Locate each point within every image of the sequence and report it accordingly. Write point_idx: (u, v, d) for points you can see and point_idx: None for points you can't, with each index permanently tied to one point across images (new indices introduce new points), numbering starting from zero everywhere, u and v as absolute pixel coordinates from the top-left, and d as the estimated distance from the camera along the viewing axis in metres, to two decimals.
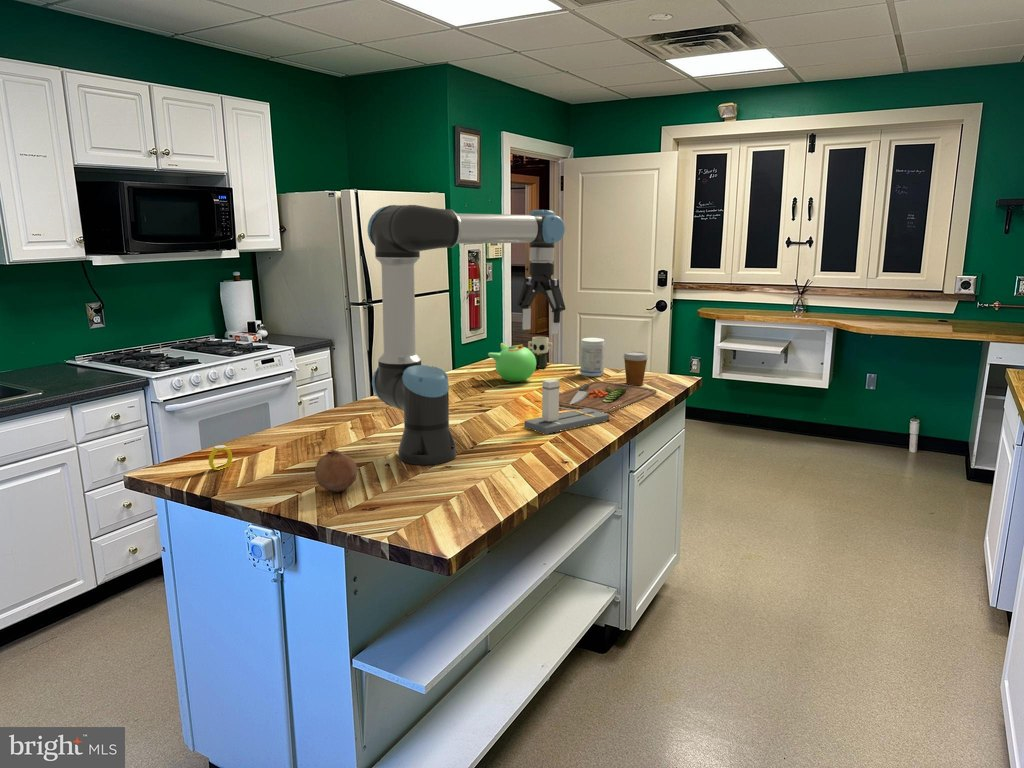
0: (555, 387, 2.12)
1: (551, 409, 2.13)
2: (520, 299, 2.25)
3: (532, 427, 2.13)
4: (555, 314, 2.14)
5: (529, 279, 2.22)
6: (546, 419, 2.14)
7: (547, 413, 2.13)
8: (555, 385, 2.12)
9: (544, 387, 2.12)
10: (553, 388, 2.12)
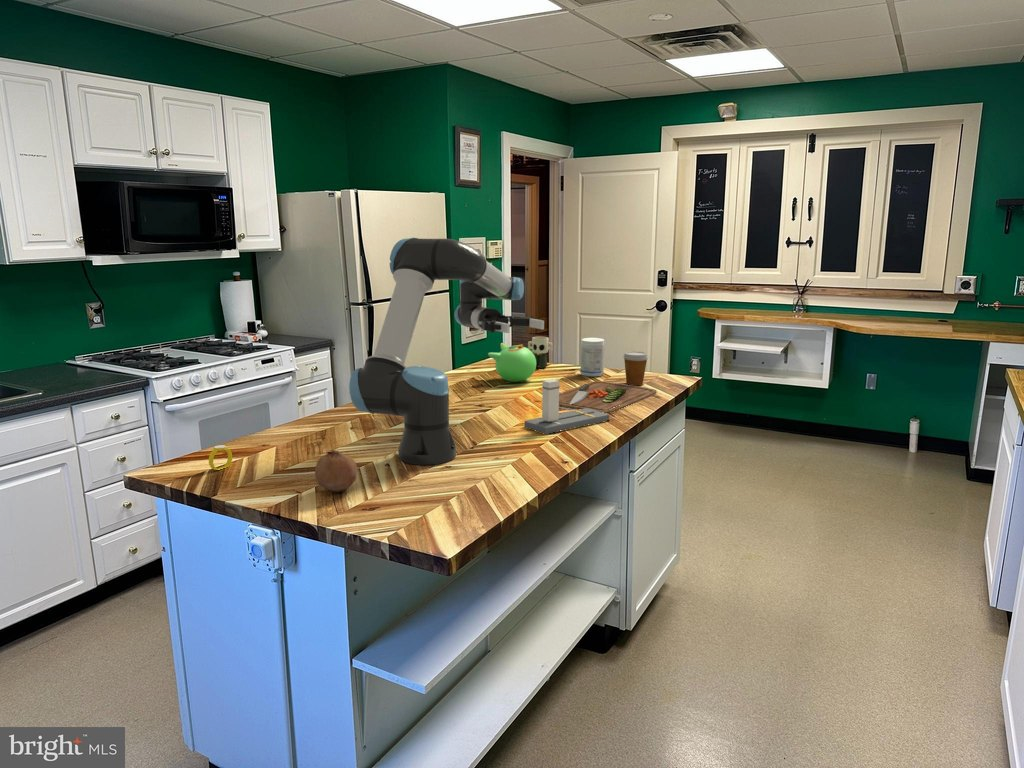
0: (555, 387, 2.12)
1: (551, 409, 2.13)
2: (486, 321, 2.23)
3: (532, 427, 2.13)
4: None
5: None
6: (546, 419, 2.14)
7: (547, 413, 2.13)
8: (555, 385, 2.12)
9: (544, 387, 2.12)
10: (553, 388, 2.12)
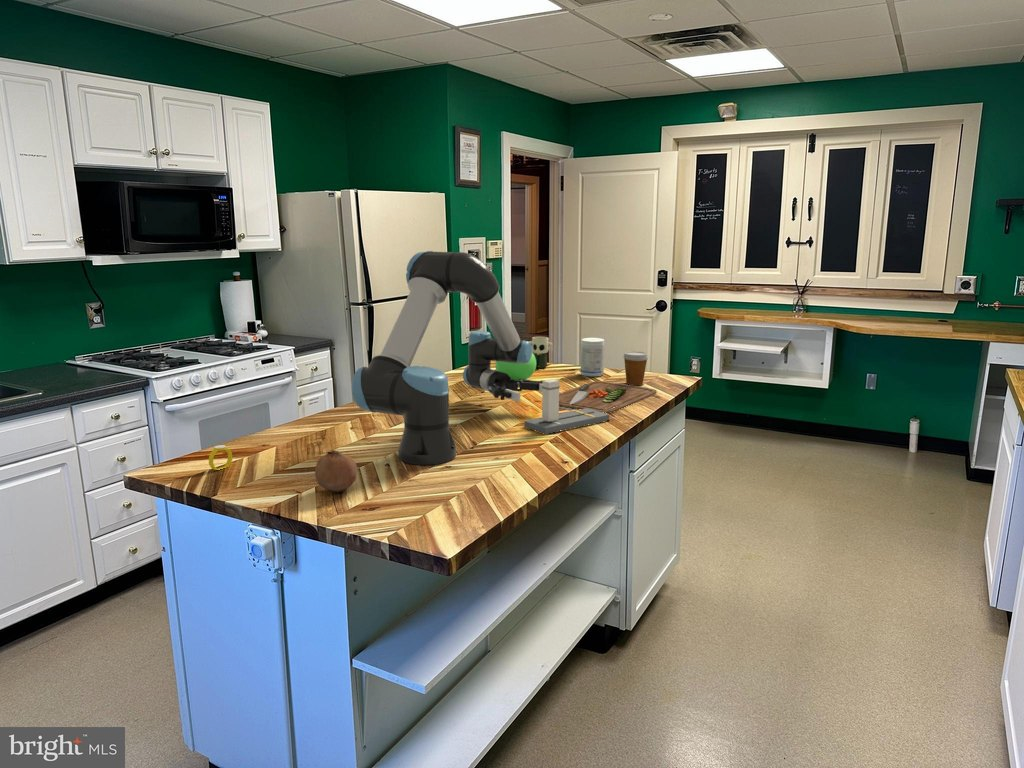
0: (555, 387, 2.12)
1: (551, 409, 2.13)
2: (496, 388, 2.22)
3: (532, 427, 2.13)
4: None
5: None
6: (546, 419, 2.14)
7: (547, 413, 2.13)
8: (555, 385, 2.12)
9: (544, 387, 2.12)
10: (553, 388, 2.12)
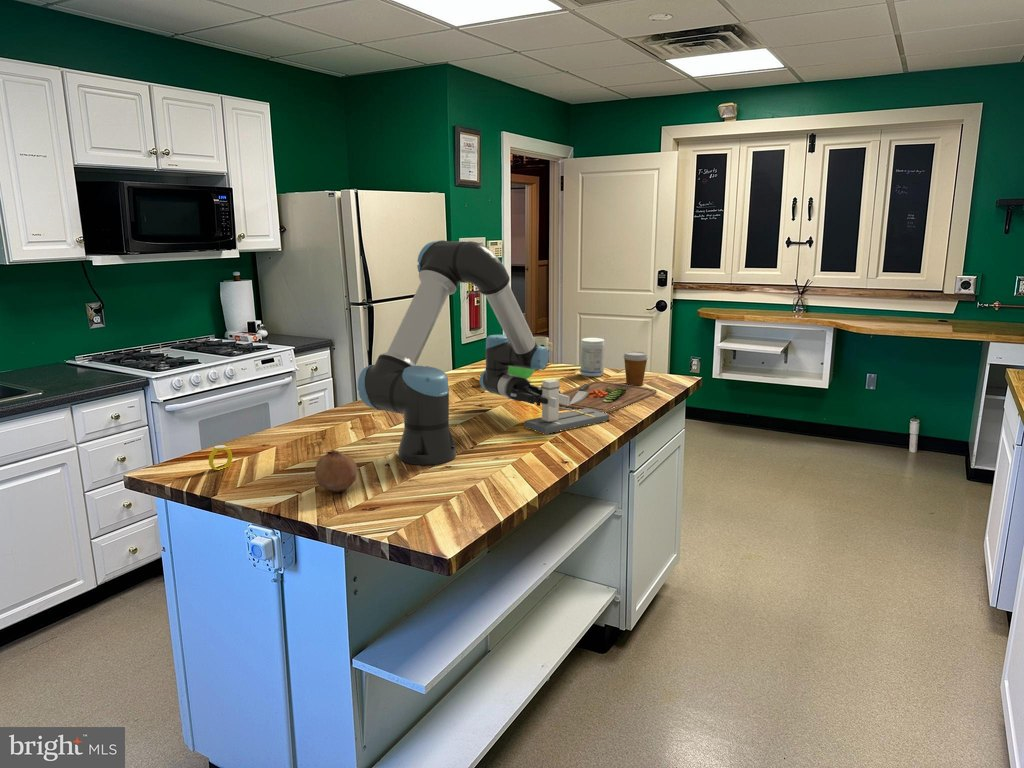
0: (555, 387, 2.12)
1: (551, 409, 2.13)
2: (528, 394, 2.14)
3: (532, 427, 2.13)
4: None
5: None
6: (546, 419, 2.14)
7: (547, 413, 2.13)
8: (555, 385, 2.12)
9: (544, 387, 2.12)
10: (553, 388, 2.12)
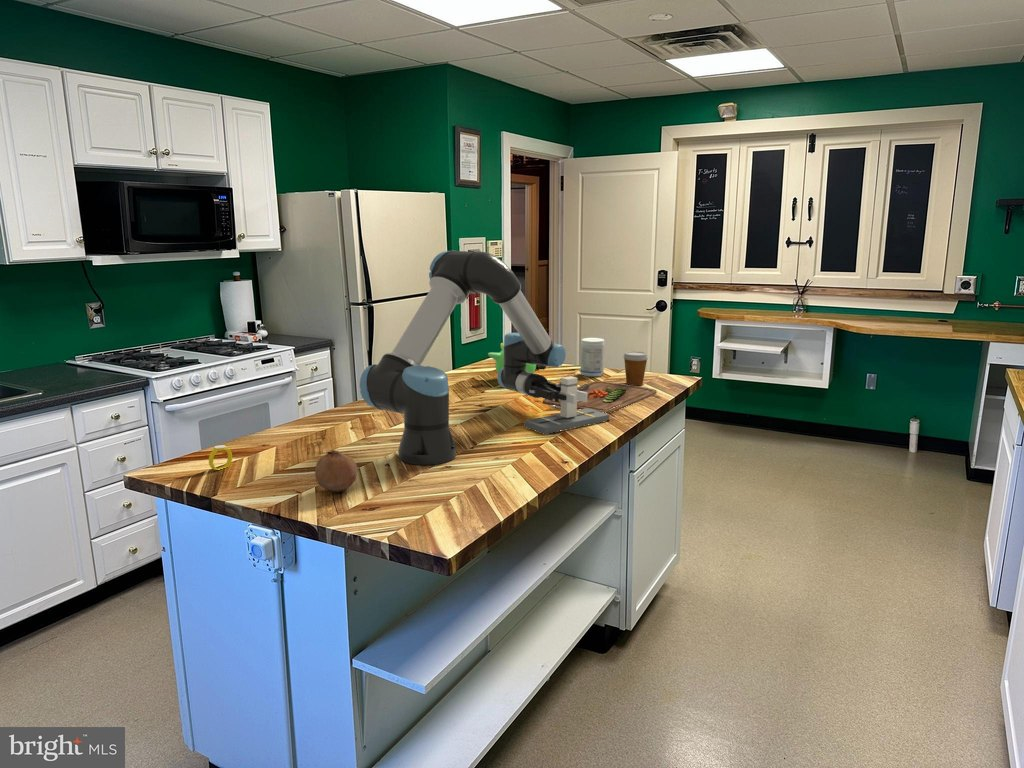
0: (573, 384, 2.17)
1: (569, 406, 2.17)
2: (547, 390, 2.18)
3: (532, 427, 2.13)
4: None
5: None
6: (564, 415, 2.18)
7: (566, 409, 2.17)
8: (573, 382, 2.16)
9: (563, 384, 2.17)
10: (571, 385, 2.16)
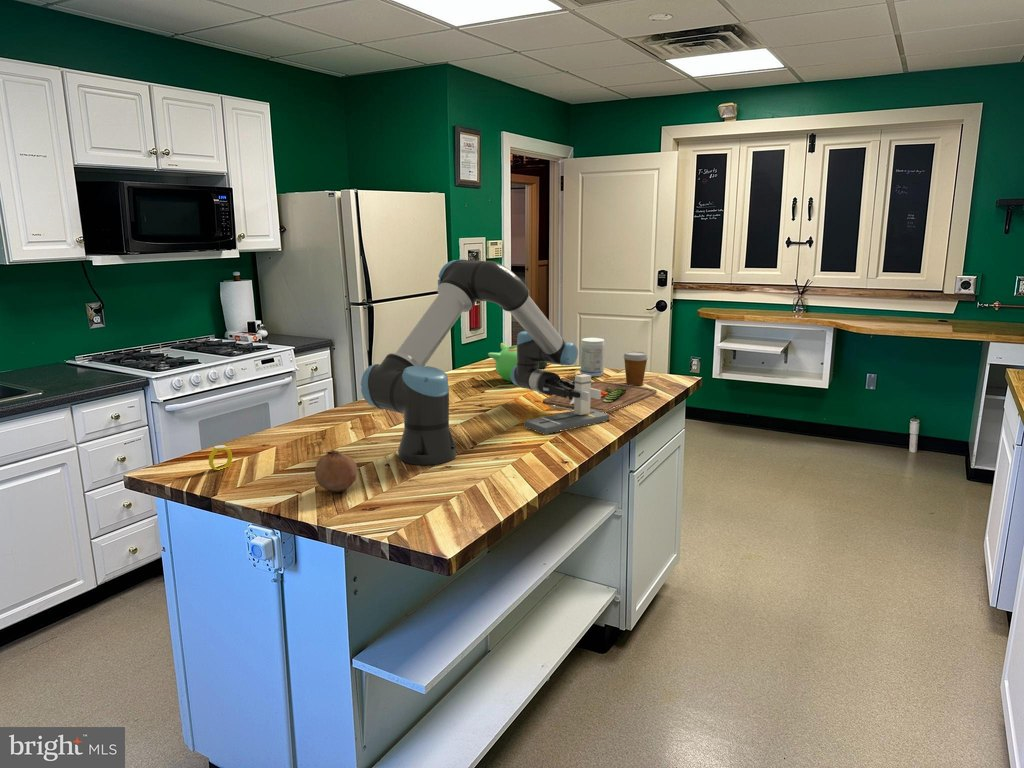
0: (587, 382, 2.20)
1: (583, 403, 2.21)
2: (561, 388, 2.22)
3: (532, 427, 2.13)
4: None
5: None
6: (578, 413, 2.21)
7: (579, 406, 2.20)
8: (587, 380, 2.20)
9: (576, 382, 2.20)
10: (585, 383, 2.19)
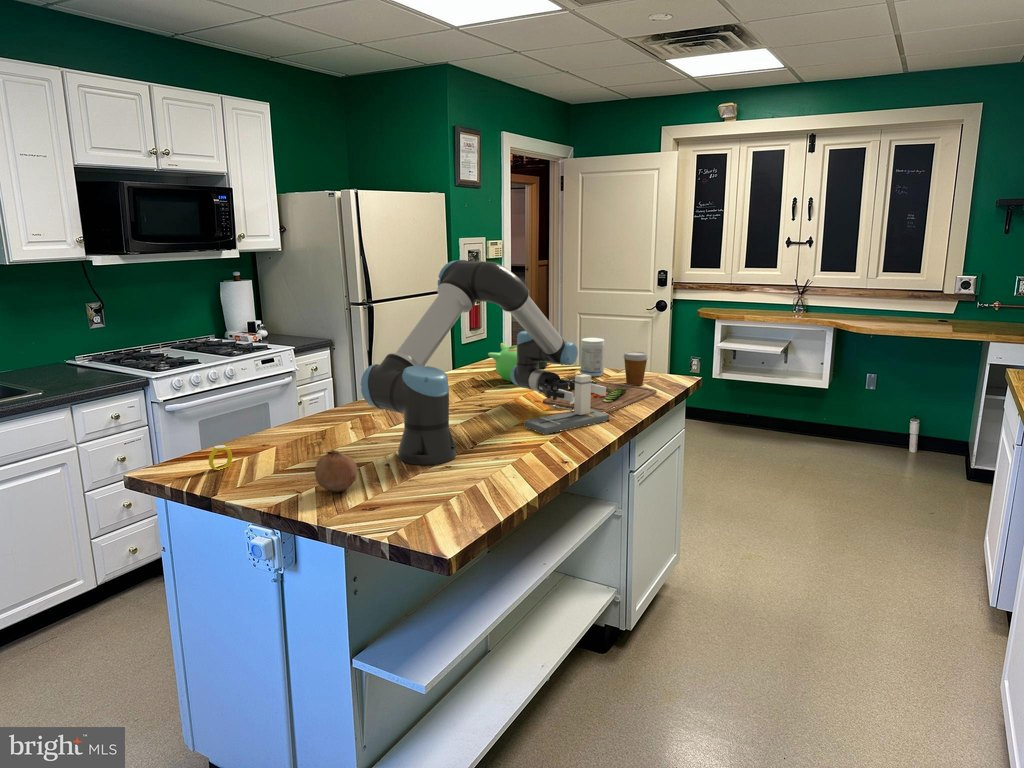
0: (587, 382, 2.20)
1: (583, 403, 2.21)
2: (548, 388, 2.21)
3: (532, 427, 2.13)
4: None
5: None
6: (578, 412, 2.21)
7: (579, 406, 2.20)
8: (587, 380, 2.20)
9: (576, 382, 2.20)
10: (585, 383, 2.19)
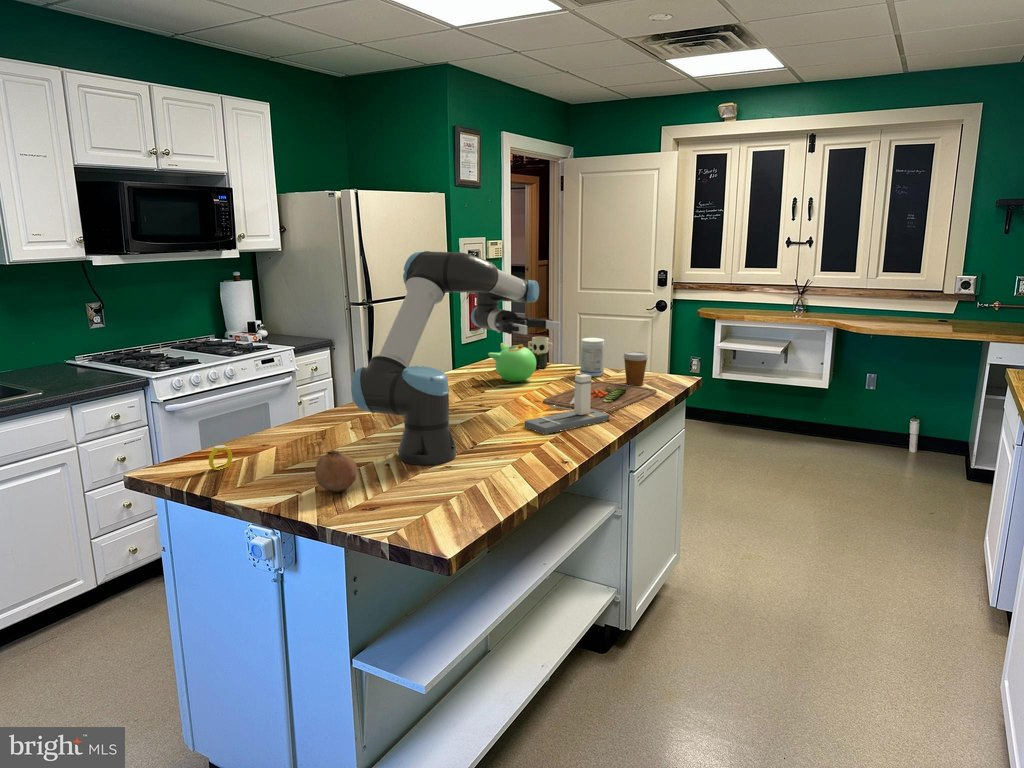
0: (587, 382, 2.20)
1: (583, 403, 2.21)
2: (503, 323, 2.27)
3: (532, 427, 2.13)
4: None
5: None
6: (578, 412, 2.21)
7: (579, 406, 2.20)
8: (587, 380, 2.20)
9: (576, 382, 2.20)
10: (585, 383, 2.19)
